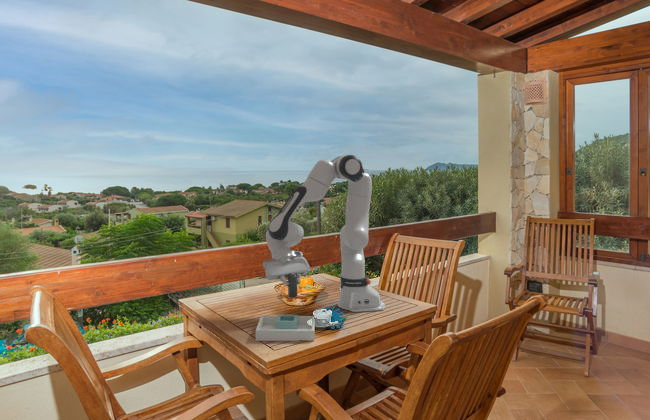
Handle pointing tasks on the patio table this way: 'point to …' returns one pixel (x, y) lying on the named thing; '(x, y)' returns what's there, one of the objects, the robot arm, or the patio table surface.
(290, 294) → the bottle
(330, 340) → the patio table surface
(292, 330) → the walled box
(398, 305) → the patio table surface
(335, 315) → the gear
